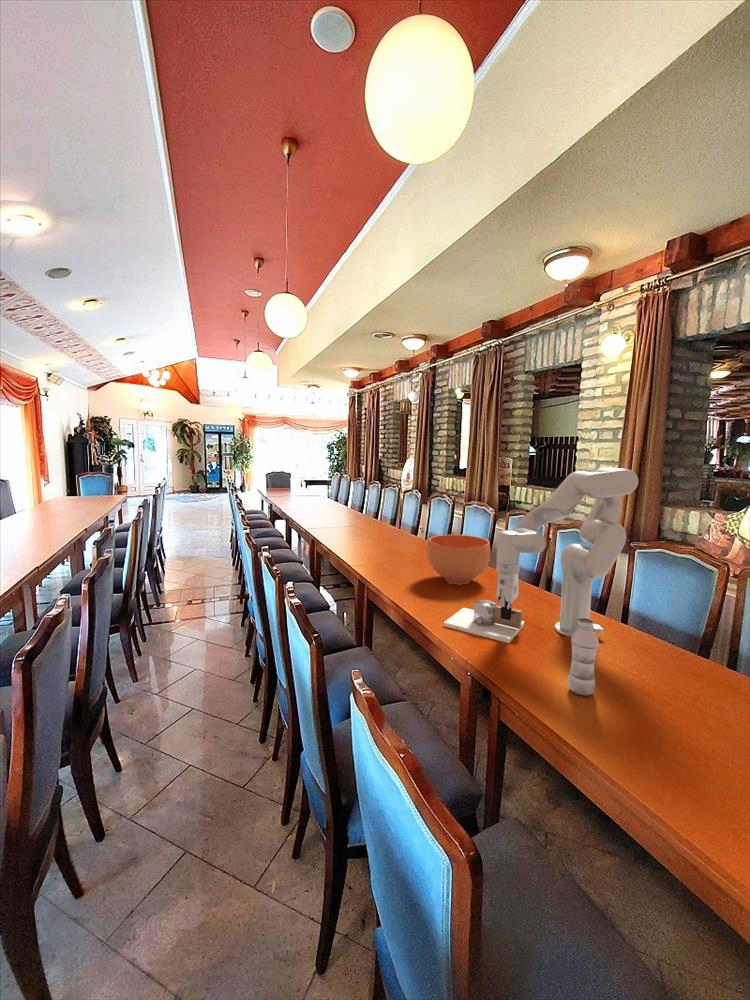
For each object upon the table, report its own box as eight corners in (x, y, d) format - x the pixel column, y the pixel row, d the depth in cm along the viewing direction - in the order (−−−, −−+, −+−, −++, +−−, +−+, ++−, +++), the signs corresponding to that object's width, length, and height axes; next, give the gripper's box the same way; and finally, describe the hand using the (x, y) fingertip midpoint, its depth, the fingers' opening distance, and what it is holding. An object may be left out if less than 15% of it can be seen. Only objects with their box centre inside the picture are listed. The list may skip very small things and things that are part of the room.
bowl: (423, 588, 200) (424, 545, 198) (430, 570, 229) (431, 533, 227) (489, 593, 193) (491, 549, 191) (488, 575, 222) (490, 536, 220)
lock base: (524, 625, 159) (524, 621, 159) (509, 643, 144) (509, 638, 144) (463, 611, 173) (463, 607, 172) (443, 626, 158) (443, 621, 158)
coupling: (468, 623, 156) (469, 605, 156) (479, 614, 165) (479, 597, 164) (515, 634, 147) (516, 615, 146) (524, 624, 155) (525, 606, 154)
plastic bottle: (570, 682, 120) (575, 613, 118) (597, 691, 116) (602, 620, 114) (564, 692, 115) (568, 621, 113) (591, 702, 111) (596, 628, 109)
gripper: (512, 574, 139) (510, 628, 141) (524, 563, 151) (522, 614, 153) (489, 570, 143) (487, 623, 145) (503, 560, 155) (501, 609, 157)
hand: (505, 618), depth 149 cm, fingers closed
